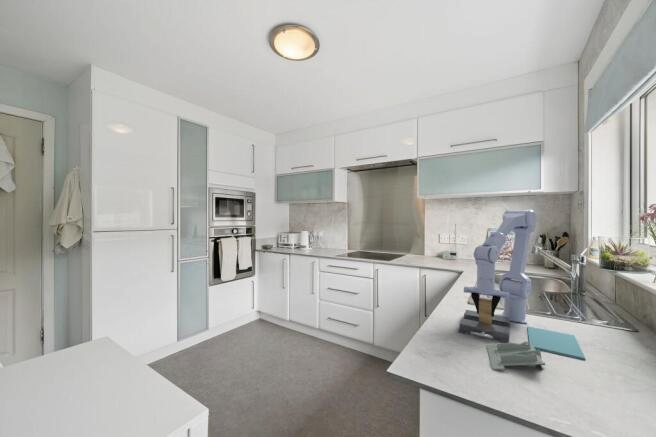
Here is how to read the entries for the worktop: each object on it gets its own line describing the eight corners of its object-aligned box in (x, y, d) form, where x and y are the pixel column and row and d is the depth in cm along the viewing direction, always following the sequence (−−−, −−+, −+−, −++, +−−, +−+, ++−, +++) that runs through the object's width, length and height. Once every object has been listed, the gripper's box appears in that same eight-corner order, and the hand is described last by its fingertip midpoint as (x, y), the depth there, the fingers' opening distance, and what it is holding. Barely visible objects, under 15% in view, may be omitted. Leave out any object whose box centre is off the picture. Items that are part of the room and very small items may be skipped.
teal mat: (527, 327, 101) (527, 326, 101) (574, 336, 94) (574, 335, 94) (529, 347, 87) (529, 345, 87) (585, 360, 79) (585, 358, 79)
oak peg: (479, 320, 104) (480, 297, 104) (492, 323, 102) (492, 299, 102) (478, 324, 101) (478, 300, 101) (491, 326, 99) (491, 302, 98)
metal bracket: (532, 335, 83) (547, 359, 69) (538, 355, 82) (555, 383, 69) (480, 340, 89) (485, 362, 75) (486, 358, 88) (492, 384, 75)
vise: (466, 315, 114) (466, 308, 114) (509, 323, 105) (509, 316, 105) (457, 334, 96) (457, 326, 96) (508, 346, 88) (508, 337, 87)
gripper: (462, 277, 102) (462, 313, 102) (509, 283, 94) (508, 322, 94) (465, 274, 108) (465, 308, 108) (509, 279, 99) (508, 316, 100)
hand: (485, 314), depth 101 cm, fingers closed on oak peg, 4 cm apart
